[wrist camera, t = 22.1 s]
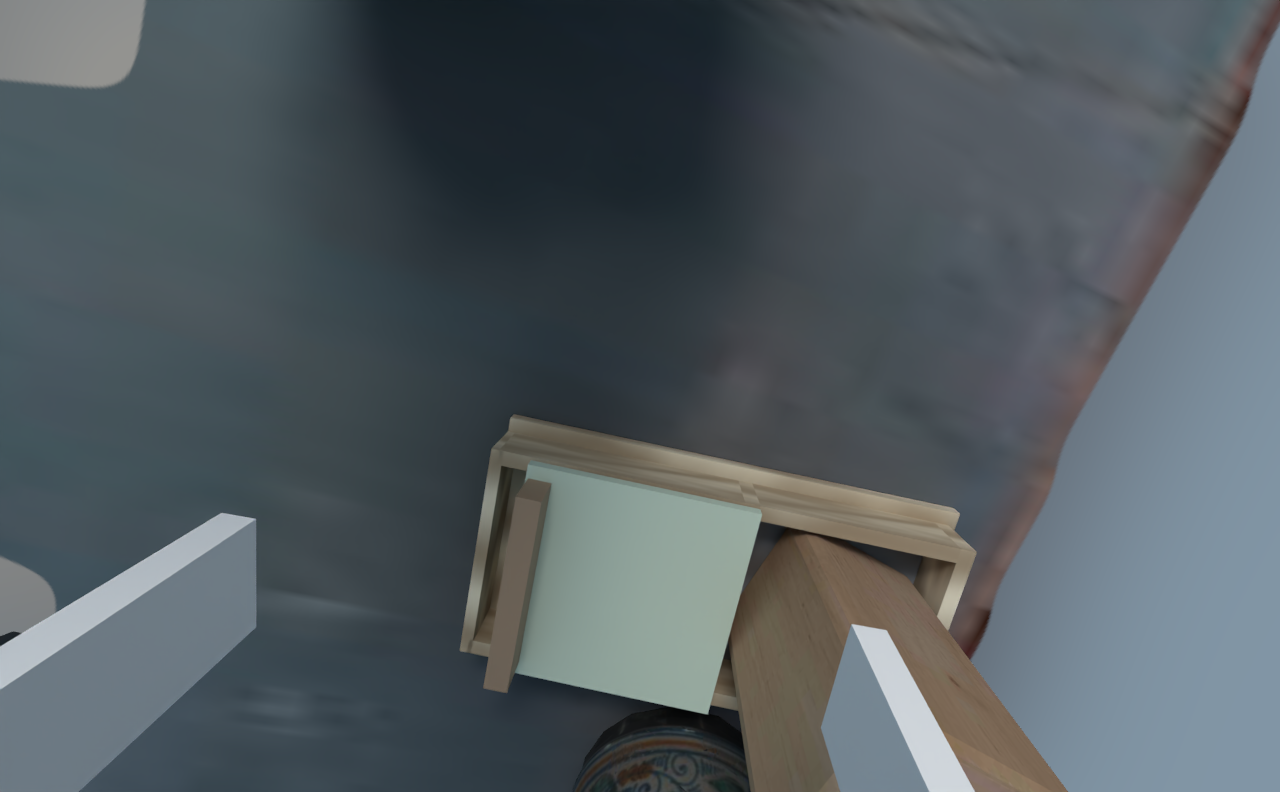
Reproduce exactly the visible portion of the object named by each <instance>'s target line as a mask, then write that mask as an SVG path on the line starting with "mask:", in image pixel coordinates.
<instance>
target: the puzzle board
mask: <svg viewBox="0 0 1280 792" xmlns="http://www.w3.org/2000/svg"><path fill="white" fill-rule="evenodd" d="M531 460H532V461H537V462H542V463H546V464H551V465H556V466H560V467H565V468H570V469H574V470H579V471H584V472H588V473H593V474H598V475H602V476H607V477H612V478H616V479H621V480H626V481H630V482H635V483H640V484H644V485H649V486H654V487H659V488H663V489H668V490H673V491H677V492H682V493H687V494H691V495H696V496H701V497H705V498H710V499H715V500H719V501H724V502H729V503H733V504H738V505H743V506H747V507H752V508H757V509H760V510H761V513H762V517H761V521H760V524H759V528H758V532H757V535H756V539H755V543H754V546H753V550H752V554H751V557H750V561H749V565H748V568H747V572H746V576H745V579H744V583H743V587H742V590H741V594H742V592H743V591H744V589H745V588H746V586H747V585H748V584H749V582H750V581H751V579H752V578H753V576H754V575H755V574H756V572H757V571H758V569H759V568H760V566H761V565H762V563H763V562H764V561H765V559H766V558H767V556H768V555H769V553H770V552H771V551H772V549H773V548H774V546H775V545H776V543H777V542H778V540H779V539H780V538H781V536H782V535H783V533H784V532H785V530H786V529H787V527H790V528H795V529H799V530H804V531H809V532H813V533H818V534H823V535H827V536H832V537H837V538H840V539H842V540H844V541H845V542H847V543H849V544H851V545H852V546H854V547H856V548H858V549H859V550H861V551H863V552H865V553H866V554H868V555H870V556H872V557H874V558H875V559H877V560H879V561H881V562H882V563H884V564H886V565H888V566H889V567H891V568H893V569H895V570H896V571H898V572H900V573H902V574H903V575H905V576H907V577H908V579H909V580H910V581H911V583H912V584H913V585H914V587H915V588H916V589H917V591H918V592H919V593H920V595H921V596H922V597H923V599H924V600H925V601H926V603H927V604H928V605H929V607H930V608H931V609H932V611H933V612H934V613H935V615H936V616H937V617H938V619H939V620H940V621H941V623H942V624H943V625H944V627H945V628H946V629H947V631H948V630H949V627H950V624H951V622H952V619H953V616H954V613H955V611H956V608H957V605H958V602H959V600H960V597H961V594H962V592H963V589H964V586H965V583H966V581H967V578H968V575H969V572H970V570H971V567H972V564H973V562H974V559H975V556H976V553H977V552H976V551H975V550H974V549H973V548H972V547H971V546H970V545H969V544H967V543H966V542H965V541H964V540H963V539H962V538H961V537H960V536H959V535H958V534H957V533H956V532H955V531H954V530H955V527H956V524H957V521H958V518H959V515H960V513H958V512H957V511H956V510H955V509H954V508H951V507H946V506H941V505H937V504H932V503H927V502H923V501H918V500H913V499H908V498H904V497H899V496H894V495H890V494H885V493H880V492H876V491H871V490H866V489H862V488H857V487H852V486H848V485H843V484H838V483H834V482H829V481H824V480H820V479H815V478H810V477H806V476H801V475H796V474H792V473H787V472H782V471H777V470H773V469H768V468H763V467H759V466H754V465H749V464H745V463H740V462H735V461H731V460H726V459H721V458H717V457H712V456H707V455H703V454H698V453H693V452H689V451H684V450H679V449H675V448H670V447H665V446H661V445H656V444H651V443H646V442H642V441H637V440H632V439H628V438H623V437H618V436H614V435H609V434H604V433H600V432H595V431H590V430H586V429H581V428H576V427H572V426H567V425H562V424H558V423H553V422H548V421H544V420H539V419H534V418H530V417H525V416H520V415H515V414H514V415H513V416H512V417H511V418H510V423H509V429H508V432H507V433H506V434H505V435H504V436H503V437H502V438H501V439H500V440H499V441H498V442H497V443H496V444H495V445H494V446H493V447H492V448H491V454H490V461H489V467H488V473H487V480H486V486H485V492H484V499H483V505H482V512H481V518H480V524H479V531H478V537H477V543H476V550H475V556H474V562H473V569H472V575H471V582H470V588H469V594H468V601H467V607H466V613H465V620H464V626H463V632H462V639H461V645H460V651H463V652H468V653H472V654H477V655H482V656H486V657H489V651H490V645H491V640H492V634H493V628H494V622H495V616H496V610H497V604H498V598H499V593H500V587H501V581H502V575H503V569H504V563H505V557H506V551H507V546H508V540H509V534H510V528H511V522H512V516H513V510H514V504H515V499H516V496H517V494H518V493H519V491H520V490H521V488H522V487H523V485H524V484H525V479H526V473H527V467H528V464H529V462H530V461H531ZM741 594H740V595H741ZM710 705H713V706H718V707H722V708H727V709H732V710H736V711H739V710H738V703H737V697H736V690H735V683H734V677H733V670H732V663H731V656H730V650H729V643H728V642H727V645H726V649H725V653H724V657H723V660H722V664H721V668H720V671H719V675H718V679H717V682H716V686H715V690H714V693H713V697H712V701H711V704H710Z"/></svg>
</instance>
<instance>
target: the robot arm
mask: <svg viewBox="0 0 1280 792" xmlns="http://www.w3.org/2000/svg"><path fill="white" fill-rule="evenodd" d="M255 628H256V519H253V518H248V517H242V516H236V515H231V514H225V513H221V514H219V515H217V516H216V517H214V518H212V519H211V520H209V521H207V522H206V523H204V524H202V525H201V526H199V527H197V528H196V529H194V530H192V531H191V532H189V533H187V534H186V535H184V536H182V537H181V538H179V539H178V540H176V541H174V542H173V543H171V544H169V545H168V546H166V547H164V548H163V549H161V550H159V551H158V552H156V553H154V554H153V555H151V556H149V557H148V558H146V559H144V560H143V561H141V562H139V563H138V564H136V565H134V566H133V567H131V568H129V569H128V570H126V571H124V572H123V573H121V574H119V575H118V576H116V577H115V578H113V579H111V580H110V581H108V582H106V583H105V584H103V585H101V586H100V587H98V588H96V589H95V590H93V591H91V592H90V593H88V594H86V595H85V596H83V597H81V598H80V599H78V600H76V601H75V602H73V603H71V604H70V605H68V606H66V607H65V608H63V609H61V610H60V611H58V612H56V613H55V614H53V615H52V616H50V617H48V618H47V619H45V620H43V621H42V622H40V623H38V624H37V625H35V626H33V627H32V628H30V629H28V630H27V631H25V632H23V633H18V632H10V633H8V634H5V635H3V636H0V792H79V791H80V790H81V789H82V788H83V787H84V786H85V785H86V784H87V783H88V782H90V781H91V780H92V779H93V778H94V777H95V776H96V775H97V774H98V773H99V772H100V771H101V770H102V769H104V768H105V767H106V766H107V765H108V764H109V763H110V762H111V761H112V760H113V759H114V758H115V757H116V756H118V755H119V754H120V753H121V752H122V751H123V750H124V749H125V748H126V747H127V746H128V745H129V744H131V743H132V742H133V741H134V740H135V739H136V738H137V737H138V736H139V735H140V734H141V733H142V732H143V731H145V730H146V729H147V728H148V727H149V726H150V725H151V724H152V723H153V722H154V721H155V720H156V719H157V718H159V717H160V716H161V715H162V714H163V713H164V712H165V711H166V710H167V709H168V708H169V707H170V706H172V705H173V704H174V703H175V702H176V701H177V700H178V699H179V698H180V697H181V696H182V695H183V694H184V693H186V692H187V691H188V690H189V689H190V688H191V687H192V686H193V685H194V684H195V683H196V682H197V681H198V680H200V679H201V678H202V677H203V676H204V675H205V674H206V673H207V672H208V671H209V670H210V669H211V668H213V667H214V666H215V665H216V664H217V663H218V662H219V661H220V660H221V659H222V658H223V657H224V656H225V655H227V654H228V653H229V652H230V651H231V650H232V649H233V648H234V647H235V646H236V645H237V644H238V643H239V642H241V641H242V640H243V639H244V638H245V637H246V636H247V635H248V634H249V633H250V632H251V631H252V630H254V629H255ZM821 730H822V733H823V736H824V740H825V743H826V746H827V750H828V753H829V756H830V760H831V763H832V766H833V769H834V773H835V776H836V779H837V783H838V786H839V789H840V792H975V791H974V789H973V787H972V785H971V784H970V782H969V780H968V778H967V776H966V774H965V773H964V771H963V769H962V767H961V765H960V763H959V762H958V760H957V758H956V756H955V754H954V752H953V751H952V749H951V747H950V745H949V743H948V742H947V740H946V738H945V736H944V734H943V732H942V731H941V729H940V727H939V725H938V723H937V721H936V720H935V718H934V716H933V714H932V712H931V710H930V709H929V707H928V705H927V703H926V701H925V699H924V698H923V696H922V694H921V692H920V690H919V689H918V687H917V685H916V683H915V681H914V679H913V678H912V676H911V674H910V672H909V670H908V668H907V667H906V665H905V663H904V661H903V659H902V657H901V656H900V654H899V652H898V650H897V648H896V646H895V645H894V643H893V641H892V639H891V637H890V636H889V634H888V632H887V630H883V629H877V628H871V627H866V626H860V625H854V624H851V627H850V631H849V634H848V637H847V641H846V644H845V648H844V651H843V654H842V658H841V661H840V664H839V668H838V671H837V675H836V678H835V681H834V685H833V688H832V692H831V695H830V698H829V702H828V705H827V708H826V712H825V715H824V719H823V722H822V725H821Z"/></svg>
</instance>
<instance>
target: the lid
mask: <svg viewBox="0 0 1280 792" xmlns="http://www.w3.org/2000/svg"><path fill="white" fill-rule="evenodd" d="M761 517H762V513H761V510H760V509H757V508H752V507H747V506H743V505H738V504H733V503H729V502H724V501H719V500H715V499H710V498H705V497H701V496H696V495H691V494H687V493H682V492H677V491H673V490H668V489H663V488H659V487H654V486H649V485H644V484H640V483H635V482H630V481H626V480H621V479H616V478H612V477H607V476H602V475H598V474H593V473H588V472H584V471H579V470H574V469H570V468H565V467H560V466H556V465H551V464H546V463H542V462H537V461H532V460H531V461H530V462H529V464H528V467H527V473H526V479H525V484H524V485H523V487H522V488H521V490H520V491H519V493H518V494H517V496H516V499H515V504H514V510H513V516H512V522H511V528H510V534H509V540H508V546H507V551H506V557H505V563H504V569H503V575H502V581H501V587H500V593H499V598H498V604H497V610H496V616H495V622H494V628H493V634H492V640H491V645H490V651H489V657H488V663H487V669H486V675H485V681H484V687H483V688H485V689H489V690H494V691H499V692H503V693H507V691H508V689H509V686H510V684H511V681H512V678H513V676H514V673H518V674H522V675H527V676H532V677H536V678H541V679H545V680H550V681H555V682H559V683H564V684H569V685H573V686H578V687H582V688H587V689H592V690H596V691H601V692H606V693H610V694H615V695H619V696H624V697H629V698H633V699H638V700H643V701H647V702H652V703H656V704H661V705H666V706H670V707H675V708H680V709H684V710H689V711H693V712H698V713H703V714H707V715H708V712H709V708H710V704H711V701H712V697H713V693H714V690H715V686H716V682H717V679H718V675H719V671H720V668H721V664H722V660H723V657H724V653H725V649H726V645H727V642H728V638H729V634H730V631H731V627H732V623H733V620H734V616H735V612H736V609H737V605H738V601H739V598H740V594H741V590H742V587H743V583H744V579H745V576H746V572H747V568H748V565H749V561H750V557H751V554H752V550H753V546H754V543H755V539H756V535H757V532H758V528H759V524H760V521H761Z"/></svg>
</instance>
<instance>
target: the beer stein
mask: <svg viewBox="0 0 1280 792" xmlns="http://www.w3.org/2000/svg"><path fill="white" fill-rule="evenodd" d="M573 792H751V791H750V784H749V777H748V770H747V764H746V757H745V750H744V744H743V737H742V733H741V732H739V731H738V730H737V729H735V728H734V727H733V726H731V725H730V724H728V723H727V722H726V721H724V720H723V719H721V718H720V717H719V716H715V715H710V714H708V715H707V714H703V713H698V712H693V711H689V710H684V709H680V708H675V707H667V708H661V709H656V710H651V711H645V712H640V713H634V714H631V715H629V716H628V717H626V718H625V719H623V720H621V721H620V722H618V723H617V724H615V725H613V726H612V727H610V728H609V729H607V730H606V731H604V732H603V734H602V735H601V736H600V738H599V739H598V741H597V742H596V743H595V745H594V746H593V748H592V749H591V750H590V752H589V753H588V755H587V756H586V757H585V761H584V765H583V768H582V770H581V772H580V774H579V776H578V778H577V780H576V783H575V785H574V788H573Z"/></svg>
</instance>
